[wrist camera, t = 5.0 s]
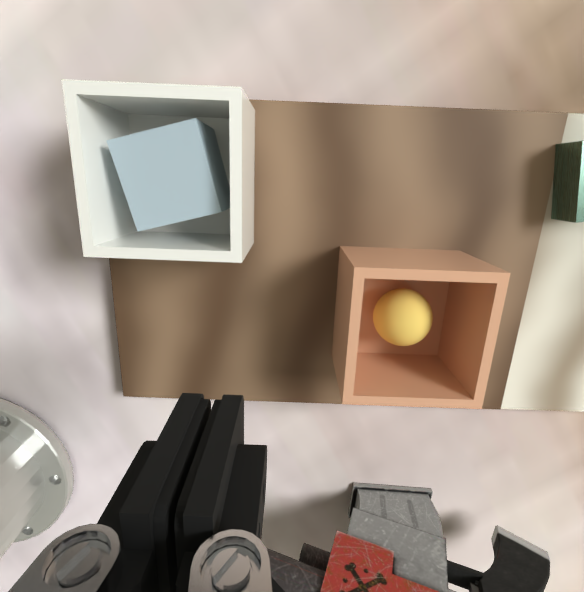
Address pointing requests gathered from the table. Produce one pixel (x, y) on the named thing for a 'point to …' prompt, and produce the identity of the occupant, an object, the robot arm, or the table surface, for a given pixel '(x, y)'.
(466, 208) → the board
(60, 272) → the table surface
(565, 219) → the tin
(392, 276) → the peach open cubby box
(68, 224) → the table surface
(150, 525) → the robot arm
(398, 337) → the ball
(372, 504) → the toy gun
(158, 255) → the white open cubby box
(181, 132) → the block
